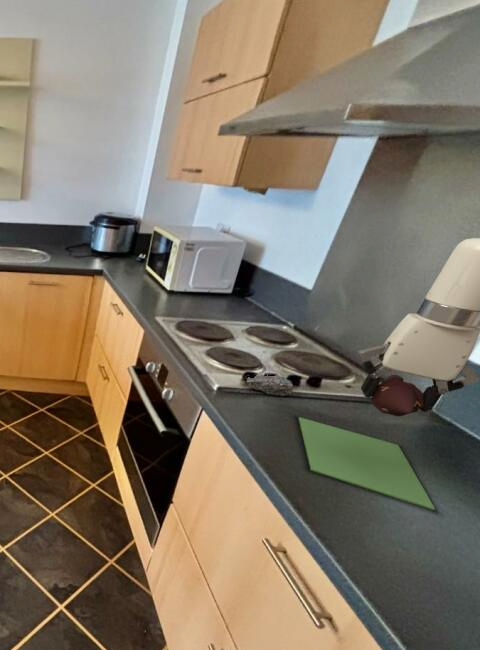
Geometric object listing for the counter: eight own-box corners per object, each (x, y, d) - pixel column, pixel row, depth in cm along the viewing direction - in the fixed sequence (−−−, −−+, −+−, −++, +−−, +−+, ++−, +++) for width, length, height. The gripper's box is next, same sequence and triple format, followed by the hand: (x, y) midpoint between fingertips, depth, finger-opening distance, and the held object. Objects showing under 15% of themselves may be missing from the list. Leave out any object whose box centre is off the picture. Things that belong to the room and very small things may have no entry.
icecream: (452, 408, 69) (420, 381, 81) (401, 385, 72) (378, 362, 84) (416, 438, 73) (391, 408, 85) (370, 415, 75) (351, 389, 87)
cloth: (397, 446, 90) (398, 444, 90) (434, 510, 73) (435, 509, 73) (298, 418, 98) (299, 416, 98) (310, 470, 81) (311, 469, 80)
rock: (240, 377, 115) (246, 364, 113) (283, 386, 112) (289, 373, 110) (244, 389, 109) (250, 375, 107) (289, 400, 105) (296, 385, 103)
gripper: (509, 320, 70) (446, 407, 78) (378, 298, 77) (333, 380, 86) (534, 333, 64) (463, 426, 72) (389, 308, 72) (339, 395, 80)
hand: (393, 400), depth 79 cm, fingers closed on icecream, 7 cm apart
